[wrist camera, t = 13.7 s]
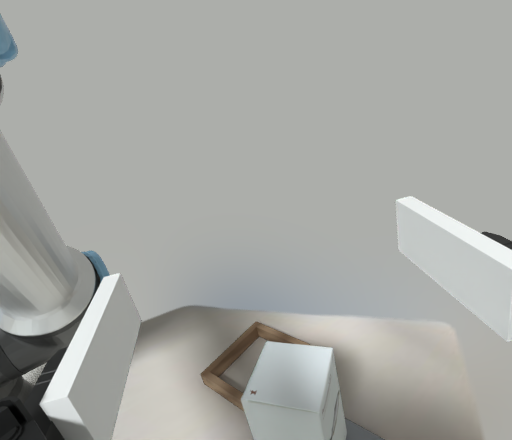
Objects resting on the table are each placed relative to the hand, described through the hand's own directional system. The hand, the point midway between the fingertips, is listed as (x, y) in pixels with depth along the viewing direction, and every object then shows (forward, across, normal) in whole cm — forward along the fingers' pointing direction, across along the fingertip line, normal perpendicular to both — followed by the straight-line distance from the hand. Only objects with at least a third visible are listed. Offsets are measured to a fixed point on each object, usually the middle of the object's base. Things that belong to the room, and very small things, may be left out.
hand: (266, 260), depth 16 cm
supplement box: (+10, 0, -30) cm, 32 cm away
